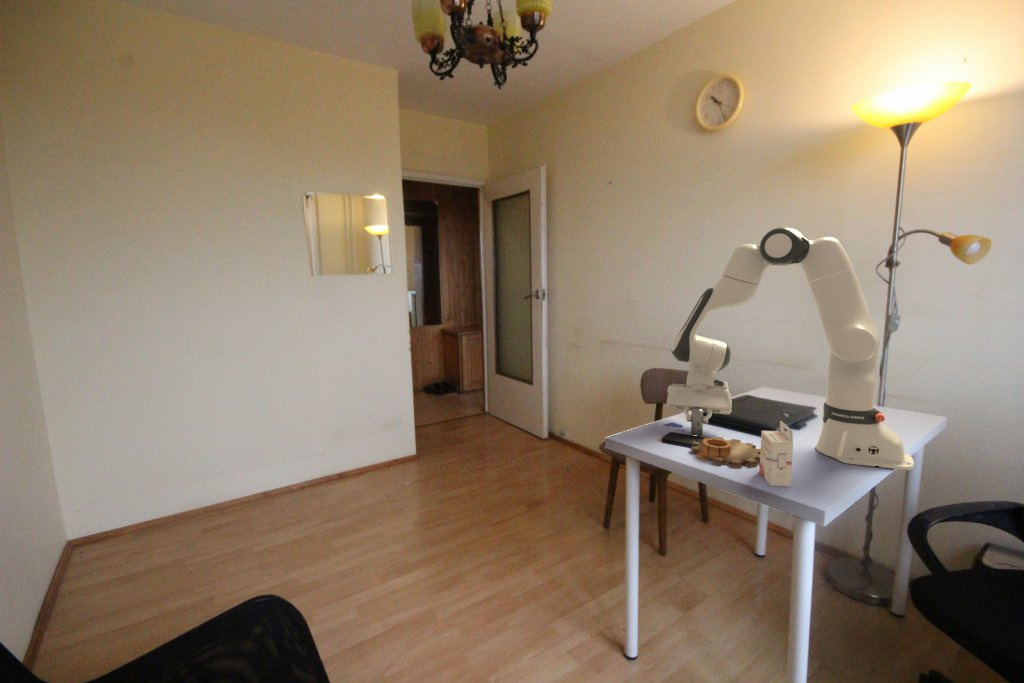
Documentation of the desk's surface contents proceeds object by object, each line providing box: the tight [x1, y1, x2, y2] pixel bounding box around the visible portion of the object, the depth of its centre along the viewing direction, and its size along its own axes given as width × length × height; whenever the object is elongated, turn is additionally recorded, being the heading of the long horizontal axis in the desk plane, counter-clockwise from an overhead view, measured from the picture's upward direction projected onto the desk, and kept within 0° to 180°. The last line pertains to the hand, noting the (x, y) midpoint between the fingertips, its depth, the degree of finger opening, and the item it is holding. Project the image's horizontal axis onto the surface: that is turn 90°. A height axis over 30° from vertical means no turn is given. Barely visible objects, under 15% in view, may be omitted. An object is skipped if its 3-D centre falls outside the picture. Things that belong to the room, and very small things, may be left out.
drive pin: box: [690, 407, 705, 437], centre depth 152 cm, size 4×4×9 cm
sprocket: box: [690, 436, 761, 469], centre depth 136 cm, size 20×20×4 cm
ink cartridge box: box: [758, 420, 794, 487], centre depth 118 cm, size 9×5×15 cm, turn 170°
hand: (697, 421), depth 151 cm, fingers closed on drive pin, 4 cm apart
